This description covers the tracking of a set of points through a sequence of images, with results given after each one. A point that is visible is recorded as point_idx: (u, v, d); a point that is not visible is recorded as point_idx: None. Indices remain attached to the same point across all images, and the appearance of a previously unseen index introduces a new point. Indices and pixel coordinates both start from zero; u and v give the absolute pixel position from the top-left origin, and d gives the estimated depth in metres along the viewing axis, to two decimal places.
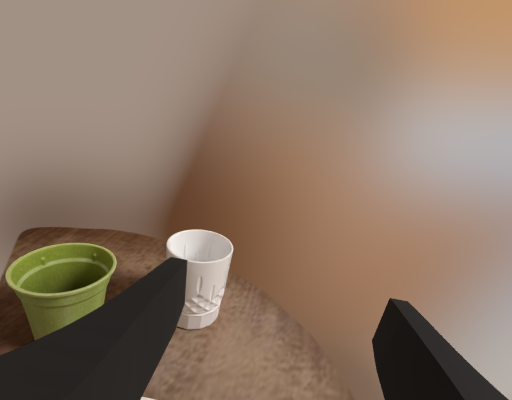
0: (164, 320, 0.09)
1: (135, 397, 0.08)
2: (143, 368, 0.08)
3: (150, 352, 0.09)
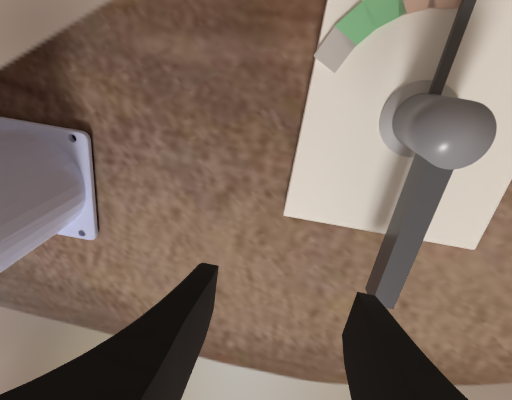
0: (199, 327, 0.09)
1: None
2: (182, 376, 0.08)
3: (188, 360, 0.09)
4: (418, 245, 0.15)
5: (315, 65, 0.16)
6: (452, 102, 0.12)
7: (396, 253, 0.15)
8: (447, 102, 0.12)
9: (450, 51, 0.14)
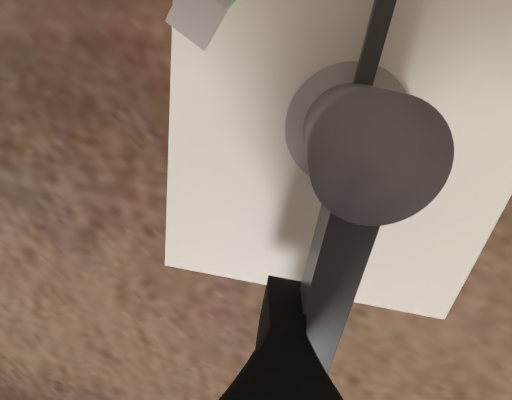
0: None
1: None
2: None
3: None
4: (334, 343, 0.09)
5: (173, 37, 0.10)
6: (361, 96, 0.06)
7: None
8: (355, 96, 0.06)
9: (383, 7, 0.08)
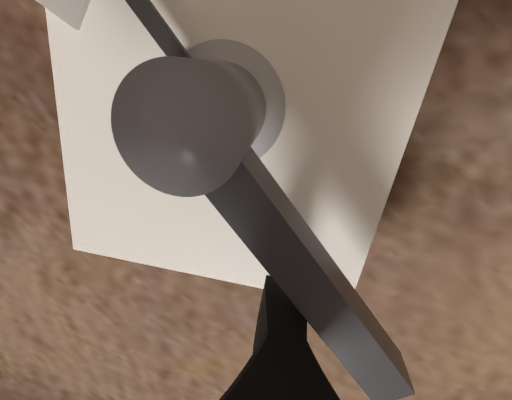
0: None
1: None
2: None
3: None
4: (336, 295, 0.08)
5: (48, 17, 0.10)
6: (115, 101, 0.06)
7: (321, 325, 0.08)
8: None
9: (143, 12, 0.08)
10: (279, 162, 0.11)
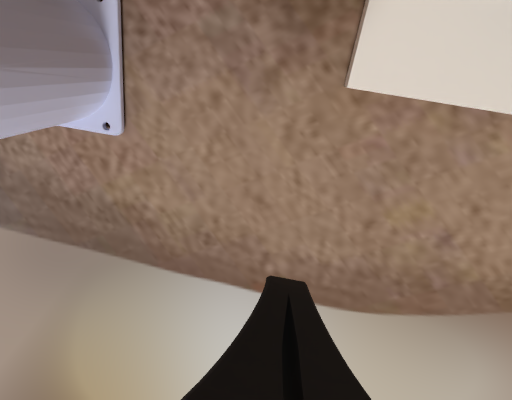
0: None
1: None
2: None
3: None
4: None
5: None
6: None
7: None
8: None
9: None
10: None
